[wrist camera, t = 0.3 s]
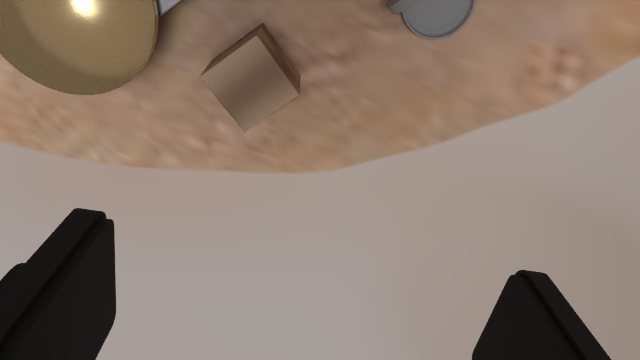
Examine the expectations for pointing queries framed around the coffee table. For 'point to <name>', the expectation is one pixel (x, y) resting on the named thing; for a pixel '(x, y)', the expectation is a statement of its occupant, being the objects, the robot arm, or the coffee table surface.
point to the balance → (80, 40)
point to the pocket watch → (433, 16)
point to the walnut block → (252, 78)
